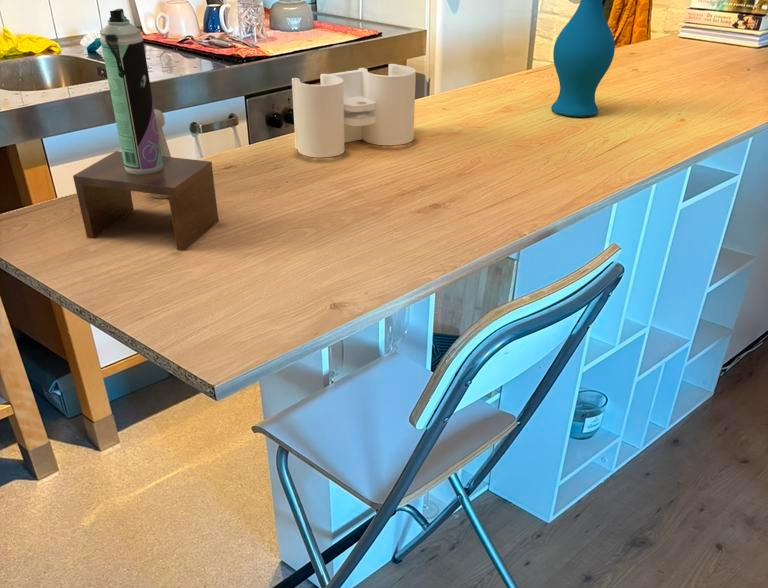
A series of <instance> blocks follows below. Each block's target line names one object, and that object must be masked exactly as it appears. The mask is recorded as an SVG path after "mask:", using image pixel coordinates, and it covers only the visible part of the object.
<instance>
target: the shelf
mask: <svg viewBox="0 0 768 588" xmlns="http://www.w3.org/2000/svg"><path fill="white" fill-rule="evenodd" d="M162 162H163V169H162V170H160V171H158V172H155V173H151V174H132V173H128V172H127V171H126V170H125V167H124V162H123V156H122V151H121V150H120V151H119V150H116V151H114V152H111V153H110V154H109V155H106V156H105V157H103V158H102V159H100V160H98V161H96V162H94V163H93V164H91V165H89V166H87V167H85V168H84V169H83V170H81V171H79V172H77V173H75V174H73V175H72V178H73V183H74V186H75V192H76V195H77V196H76V197H77V200H78V205H79V208H80V212H81V218H82V221H83V227H84V230H85V235H86V238H90V239H95V238H96V237H98V236H99V235H101V234H102V233H103V232H105V231H106V230H108V229H109V228H111V227H112V226H114V225H116V224H117V223H119V221H121V220H123V219H124V218H125V217H127V216H128V215H129V214H131V213H133V212H134V211H135V209H134V203H133V198H132V193H131V192H135V193H136V192H137V193H143V194H144V193H146V194H149V193H152V194H160V195H168V203H169V208H170V216H171V223H172V228H173V235H174V242H175V246H176V247H175V248H176V250H177V251H185V250H186V249H188V248H189V247H190V246H191V245H192V244H193V243H194V242H196V241H197V240H198V239H200V238H201V237H202V236H203V235H204V234H206V233H207V232H208V231H209V230H210V229H211V228H212V227H213V226H214V225H216V224H217V223H219V214H218V213H219V212H218V204H217V195H216V187H215V180H214V170H213V162H212V161H209V160H200V159H193V158H192V159H190V158H182V157H172V156H171V157H165V156H162Z"/></svg>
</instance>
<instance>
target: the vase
mask: <svg viewBox="0 0 768 588" xmlns="http://www.w3.org/2000/svg"><path fill="white" fill-rule="evenodd" d="M603 6H604V5H603V0H580V2H579V4H578V6H577V8H576V10H575V12H574V13H573V15H572V16H571V18H570V19H569V21H567V23H566V25H565V26H564V27H563V28H562V29H561V31H560V33H559V34H558V35H557V37H556V39H555V42H554V45H553V51H552V52H553V53H552V54H553V57H552V58H553V65H554V68H555V71H556V74H557V78H558V81H559V82H558V83H559V93H558V96H557V99H556V100H555V101H554V102H553V104H552V105H551V107H550V109H551V110H552V111H553V112H554V113H556V114H558V115H562V116H565V117H573V118H584V117H585V118H586V117H592V116H596V115H597V114H598V113H599V110H600V109H599V106H598V105H597V103H596V91H597V89H598V86H599V84H600V83H601V81H602V79H603V78H604V76H605V75H606V74H607V72H608V70H609V69H610V67H611V66H612V65H611V64H612V63H613V60H614V56H615V50H616V45H615V37H614V35H613V32H612V30H611V28H610V26H609V23H608V21H607V19H606V16H605V11H604V7H603Z"/></svg>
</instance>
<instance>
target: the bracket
mask: <svg viewBox="0 0 768 588" xmlns="http://www.w3.org/2000/svg"><path fill="white" fill-rule="evenodd" d="M387 74H388V75H384V74H375V73H371V72H370V71H368V68H366V67H359V68H358V69H356V70H355V69H353V70H348V71H340V72H334V73H321V74H320V75H319V76H320V78H319V79H320V81H319V82H320V84H309V83H304V82H301V79H300V78H298V77H292V78H291V92H292V109H293V111H292V112H293V123H294V124H293V127H294V145H295V150H297V151H298V153H299V154H300V155H302V156H305V157H309V158H333V157H337V156H341V155H342V154H344V152H345V150H346V149H345V143H350V142H355V141H361V140H363V141H364V142H366V143H369V144H372V145H377V146H400V145H406V144H409V143H410V142H412V141H414V138H415V137H414V136H415V135H414V134H415V110H416V109H415V106H416V103H415V102H416V79H417V78H416V77H417V76H416V75H417V71H416V69H415V68H414V67H411V66H408V65H402V64H397V63H388V73H387Z"/></svg>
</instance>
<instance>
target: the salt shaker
mask: <svg viewBox="0 0 768 588" xmlns="http://www.w3.org/2000/svg"><path fill="white" fill-rule="evenodd" d="M154 111H155V118H156V124H157V130H158V137H159V143H160V149H161V156H165V157H172V155H171V152H170V148H169V145H168V143H167V139H166V136H165V133H164V130H163V128H164V126H165V123H166V121H165V117H164V113H163V112H162V111H161V110H160V109H157V108H154ZM148 194H149V196H150V198H152V199H153V198H154V199H159V200H161V199H169V197H168V195H160V194H152V193H148Z"/></svg>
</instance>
